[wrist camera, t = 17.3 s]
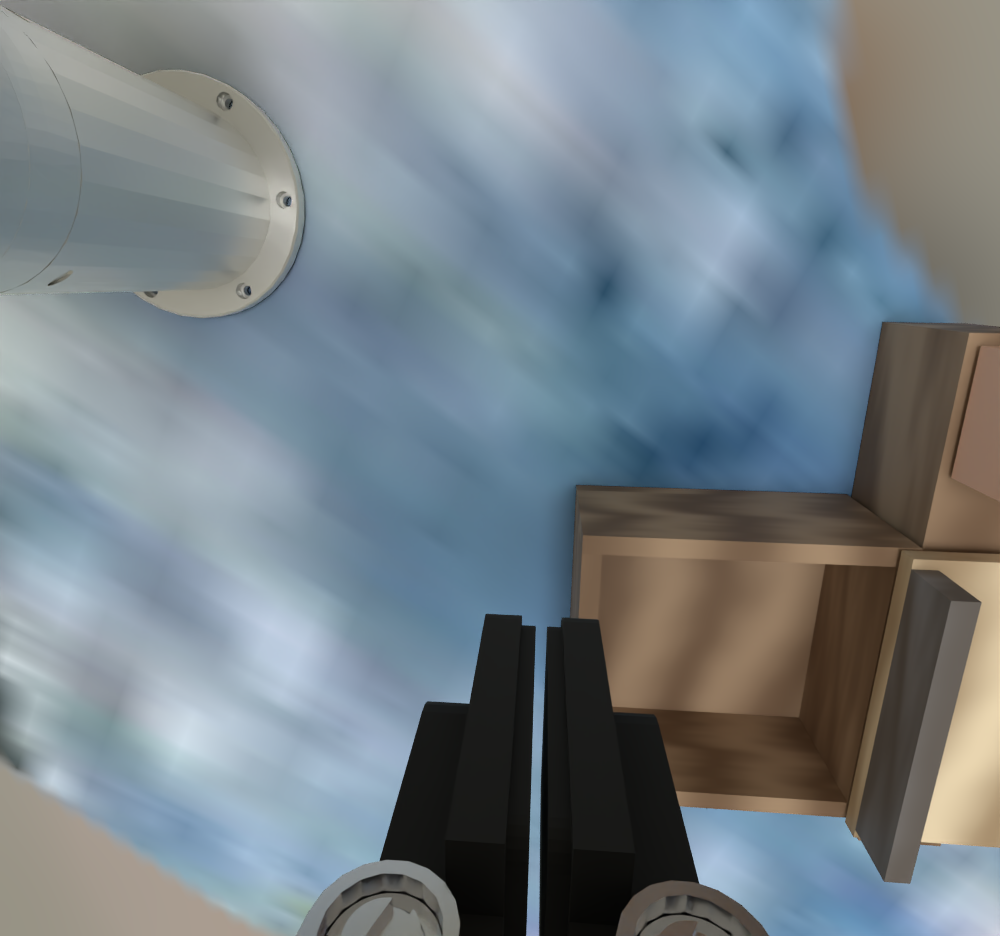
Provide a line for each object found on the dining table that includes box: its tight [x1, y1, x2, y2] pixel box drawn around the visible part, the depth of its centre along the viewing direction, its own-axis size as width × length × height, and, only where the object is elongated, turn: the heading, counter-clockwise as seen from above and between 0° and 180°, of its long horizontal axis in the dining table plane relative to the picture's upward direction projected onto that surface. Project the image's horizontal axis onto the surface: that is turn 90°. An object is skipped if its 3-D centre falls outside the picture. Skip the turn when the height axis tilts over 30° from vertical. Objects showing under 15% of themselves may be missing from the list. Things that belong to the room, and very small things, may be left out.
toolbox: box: [570, 322, 1000, 846], centre depth 35 cm, size 21×28×8 cm
